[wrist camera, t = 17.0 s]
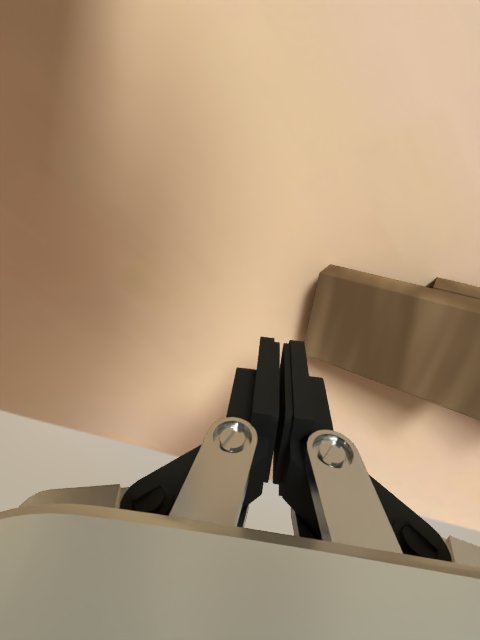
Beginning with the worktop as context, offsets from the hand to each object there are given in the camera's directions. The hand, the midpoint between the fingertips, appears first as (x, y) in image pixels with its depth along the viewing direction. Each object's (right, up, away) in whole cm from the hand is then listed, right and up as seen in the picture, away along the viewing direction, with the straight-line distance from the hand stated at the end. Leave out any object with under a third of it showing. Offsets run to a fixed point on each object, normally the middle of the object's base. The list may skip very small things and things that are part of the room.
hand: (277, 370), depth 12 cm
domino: (+3, +3, +6) cm, 7 cm away
